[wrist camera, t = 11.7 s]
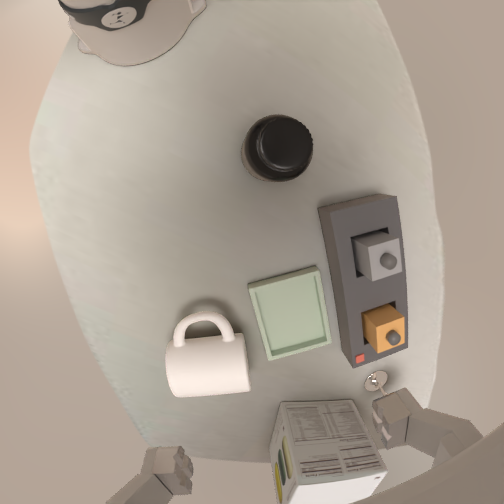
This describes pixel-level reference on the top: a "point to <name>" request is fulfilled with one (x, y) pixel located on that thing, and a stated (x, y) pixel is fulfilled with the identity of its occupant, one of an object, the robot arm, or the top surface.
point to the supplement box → (323, 454)
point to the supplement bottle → (277, 149)
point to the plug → (383, 327)
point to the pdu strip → (354, 282)
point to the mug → (207, 360)
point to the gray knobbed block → (376, 254)
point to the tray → (291, 312)
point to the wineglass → (376, 381)
